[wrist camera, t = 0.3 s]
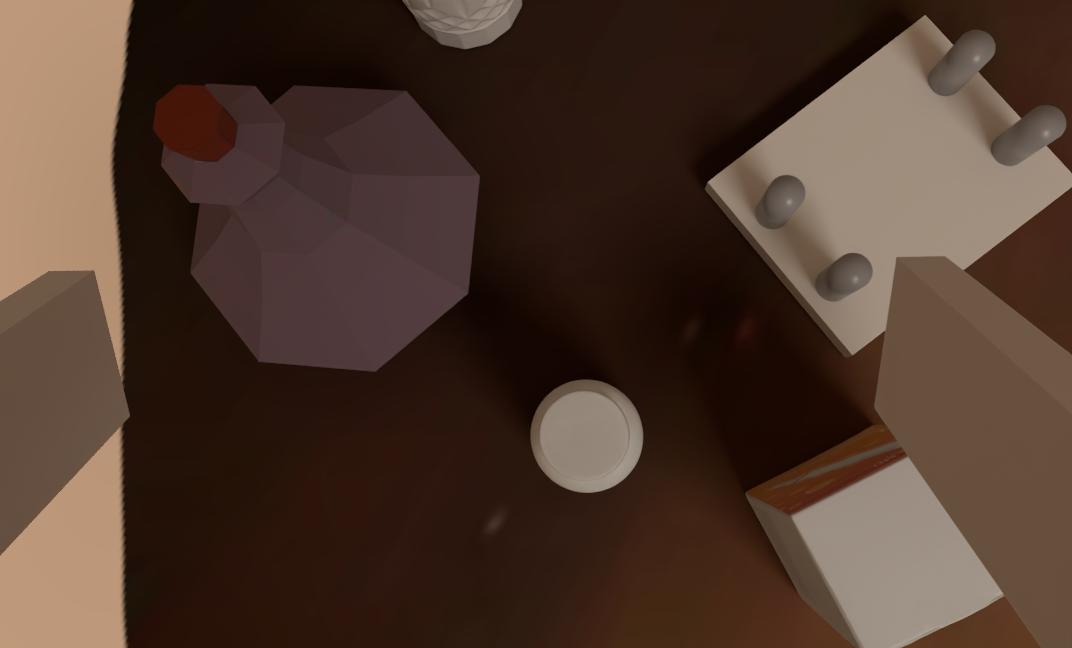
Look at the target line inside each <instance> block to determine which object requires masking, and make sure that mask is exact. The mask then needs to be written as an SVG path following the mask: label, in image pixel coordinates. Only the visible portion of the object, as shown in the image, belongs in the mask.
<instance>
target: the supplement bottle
mask: <svg viewBox="0 0 1072 648" xmlns="http://www.w3.org/2000/svg"><path fill="white" fill-rule="evenodd" d="M531 445H532V450H533V454H534V456H535V459H536V461H537V463H538V465H539V466H540V468H541V469H542V470H543V472H544V473H545V474H546V475H547V476H548V477H549V478H550V479H551V480H553V481H554V482H555V483H557V484H558V485H560V486H562V487H564V488H566V489H569V490H572V491H576V492H584V493H591V492H599V491H603V490H606V489H608V488H611V487H613V486H615V485H616V484H618V483H619V482H621V481H622V480H623V479H624V478H626V477H627V476H628V475H629V473H630V472H631V471H632V470H633V468H634V467H635V465H636V463H637V461H638V459H639V457H640V454H641V450H642V445H643V429H642V424H641V420H640V417H639V415H638V412H637V410H636V409H635V407H634V405H633V404H632V402H631V401H630V400H629V399H628V398H627V397H626V396H625V395H624V394H623V393H622V392H621V391H619V390H618V389H616V388H615V387H613V386H611V385H609V384H607V383H604V382H601V381H596V380H576V381H571V382H568V383H565V384H563V385H561V386H559V387H557V388H556V389H554V390H553V391H552V392H551V393H549V394H548V395H547V396H546V397H545V398H544V400H543V401H542V402H541V404H540V405H539V407H538V408H537V410H536V412H535V415H534V418H533V421H532V425H531Z"/></svg>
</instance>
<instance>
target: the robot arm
mask: <svg viewBox="0 0 1072 648" xmlns="http://www.w3.org/2000/svg"><path fill="white" fill-rule="evenodd" d="M874 408H875V410H876V411H877V413H878V414H879V416H880V417H881V418H882V420H883V421H884V423H885V424H886V426H887V427H888V428H889V430H890V431H891V433H892V434H893V436H894V437H895V439H896V440H897V441H898V443H899V444H900V446H901V447H902V449H903V450H904V451H905V453H906V454H907V456H908V457H909V459H910V460H911V462H912V463H913V464H914V466H915V467H916V469H917V470H918V472H919V473H920V475H921V476H922V477H923V479H924V480H925V482H926V483H927V485H928V486H929V487H930V489H931V490H932V492H933V493H934V495H935V496H936V498H937V499H938V500H939V502H940V503H941V505H942V506H943V508H944V509H945V511H946V512H947V513H948V515H949V516H950V518H951V519H952V521H953V522H954V523H955V525H956V526H957V528H958V529H959V531H960V532H961V534H962V535H963V536H964V538H965V539H966V541H967V542H968V544H969V545H970V547H971V548H972V549H973V551H974V552H975V554H976V555H977V557H978V558H979V559H980V561H981V562H982V564H983V565H984V567H985V568H986V570H987V571H988V572H989V574H990V575H991V577H992V578H993V580H994V581H995V582H996V584H997V585H998V587H999V588H1000V590H1001V591H1002V593H1003V594H1004V595H1005V597H1006V598H1007V600H1008V601H1009V603H1010V604H1011V606H1012V607H1013V608H1014V610H1015V611H1016V613H1017V614H1018V616H1019V617H1020V618H1021V620H1022V621H1023V623H1024V624H1025V626H1026V627H1027V629H1028V630H1029V631H1030V633H1031V634H1032V636H1033V637H1034V639H1035V640H1036V642H1037V643H1038V644H1039V646H1040V647H1041V648H1072V355H1071V354H1070V353H1068V352H1067V351H1066V350H1065V349H1063V348H1062V347H1061V346H1059V345H1058V344H1057V343H1056V342H1054V341H1053V340H1052V339H1050V338H1049V337H1048V336H1047V335H1045V334H1044V333H1043V332H1041V331H1040V330H1039V329H1038V328H1036V327H1035V326H1034V325H1033V324H1031V323H1030V322H1029V321H1027V320H1026V319H1025V318H1024V317H1022V316H1021V315H1020V314H1018V313H1017V312H1016V311H1015V310H1013V309H1012V308H1011V307H1009V306H1008V305H1007V304H1006V303H1004V302H1003V301H1002V300H1001V299H999V298H998V297H997V296H995V295H994V294H993V293H992V292H990V291H989V290H988V289H986V288H985V287H984V286H983V285H981V284H980V283H979V282H977V281H976V280H975V279H974V278H972V277H971V276H970V275H969V274H967V273H966V272H965V271H963V270H962V269H961V268H960V267H958V266H957V265H956V264H954V263H953V262H952V261H951V260H949V259H948V258H947V257H945V256H922V257H896V264H895V271H894V277H893V284H892V291H891V298H890V304H889V311H888V318H887V325H886V331H885V338H884V345H883V351H882V358H881V365H880V372H879V378H878V385H877V392H876V398H875V405H874ZM129 417H130V414H129V410H128V406H127V402H126V398H125V394H124V390H123V386H122V382H121V378H120V374H119V370H118V365H117V361H116V357H115V353H114V349H113V345H112V341H111V337H110V333H109V329H108V326H107V322H106V317H105V313H104V309H103V305H102V301H101V297H100V293H99V289H98V285H97V280H96V276H95V272H94V271H49V272H47V273H46V274H44V275H42V276H41V277H39V278H37V279H36V280H34V281H33V282H31V283H29V284H28V285H26V286H25V287H23V288H22V289H20V290H18V291H16V292H15V293H13V294H12V295H10V296H8V297H7V298H5V299H3V300H2V301H0V555H1V554H2V553H3V552H4V551H5V550H6V549H7V547H9V545H10V544H11V543H12V542H13V541H14V540H15V539H16V538H17V537H18V536H19V534H21V533H22V532H23V530H24V529H25V528H26V527H27V526H28V525H29V524H30V523H31V522H32V521H33V520H34V518H36V516H37V515H38V514H39V513H40V512H41V511H42V510H43V509H44V508H45V507H46V506H47V505H48V504H49V503H50V501H51V500H52V499H53V498H54V497H55V496H56V495H57V494H58V493H59V492H60V491H61V490H62V489H63V487H64V486H65V485H66V484H67V483H68V482H69V481H70V480H71V479H72V478H73V477H74V476H75V475H76V474H77V472H78V471H79V470H80V469H81V468H82V467H83V466H84V465H85V464H86V463H87V462H88V461H89V459H90V458H91V457H92V456H93V455H94V454H95V453H96V452H97V451H98V450H99V449H100V447H102V446H103V444H104V443H105V442H106V441H107V440H108V439H109V438H110V437H111V436H112V435H113V434H114V433H115V432H116V431H117V430H118V428H119V427H120V426H121V425H122V424H123V423H124V422H125V421H126V420H127V419H128V418H129Z"/></svg>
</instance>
